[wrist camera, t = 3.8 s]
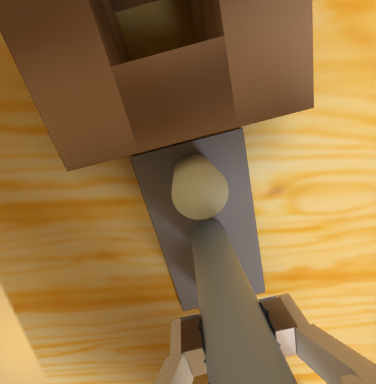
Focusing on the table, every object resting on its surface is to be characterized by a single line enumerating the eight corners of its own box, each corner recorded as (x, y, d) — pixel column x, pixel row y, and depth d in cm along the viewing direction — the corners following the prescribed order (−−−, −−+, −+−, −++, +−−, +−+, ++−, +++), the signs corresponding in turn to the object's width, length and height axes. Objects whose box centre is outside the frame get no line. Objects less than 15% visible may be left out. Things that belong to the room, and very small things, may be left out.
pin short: (215, 187, 15) (232, 212, 11) (179, 196, 15) (179, 225, 11) (208, 149, 14) (223, 158, 10) (168, 159, 14) (164, 173, 10)
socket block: (259, 116, 14) (313, 107, 8) (110, 155, 14) (67, 171, 9) (235, -108, 10) (306, -404, 5) (32, -49, 11) (-135, -254, 5)
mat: (263, 289, 20) (265, 292, 19) (183, 307, 20) (183, 311, 20) (240, 128, 14) (242, 128, 14) (130, 156, 15) (129, 157, 14)
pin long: (227, 245, 17) (391, 623, 4) (195, 253, 17) (250, 647, 4) (221, 216, 16) (415, 593, 3) (187, 224, 16) (226, 628, 3)
